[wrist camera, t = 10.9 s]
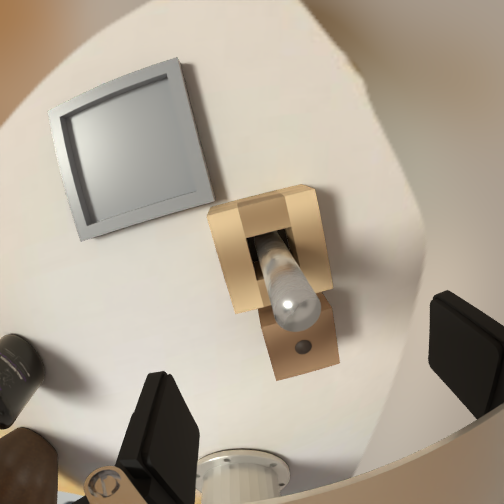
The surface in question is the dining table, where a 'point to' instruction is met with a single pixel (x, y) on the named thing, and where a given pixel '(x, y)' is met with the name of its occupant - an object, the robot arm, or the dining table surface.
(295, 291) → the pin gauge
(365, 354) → the dining table surface
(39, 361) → the supplement bottle
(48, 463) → the plant pot
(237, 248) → the oak block
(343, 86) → the dining table surface
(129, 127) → the tray
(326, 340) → the walnut block
